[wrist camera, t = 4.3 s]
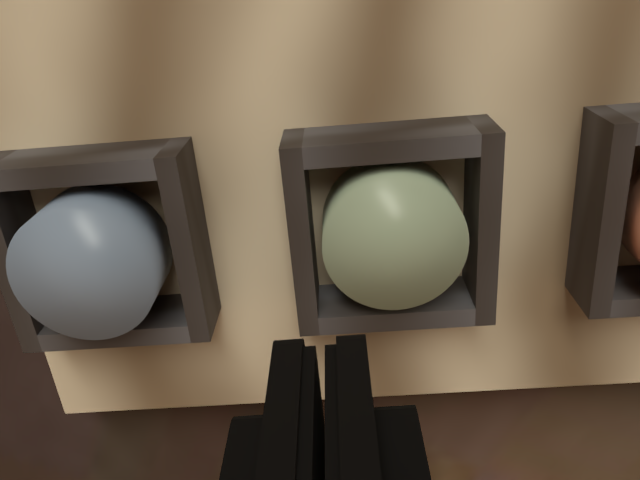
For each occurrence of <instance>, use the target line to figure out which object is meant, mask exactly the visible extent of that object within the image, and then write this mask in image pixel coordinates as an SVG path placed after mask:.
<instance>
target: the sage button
mask: <svg viewBox="0 0 640 480" xmlns="http://www.w3.org/2000/svg"><path fill="white" fill-rule="evenodd" d="M468 251H469V232H468V227H467V223H466V220H465V218H464V215H463V214H462V212H461V210H460V208H459V206H458V204H457V202H456V200H455V198H454V196H453V194H452V193H451V191H450V189H449V187H448V185H447V183H446V182H445V180H444V179H443V178H442V176H441V175H440V174H439V173H438V172H437V171H436V170H434V169H433V168H432V167H430V166H429V165H427V164H425V163H424V162H422V161H419V162H405V163H392V164H378V165H364V166H352V167H351V168H349V169H348V170H347V171H345V172H344V173H343V174H342V175H341V176H340V177H339V178H338V179H337V181H336V182H335V183H334V184H333V186H332V188H331V189H330V191H329V193H328V195H327V198H326V200H325V204H324V208H323V219H322V255H323V261H324V264H325V267H326V270H327V272H328V274H329V276H330V278H331V279H332V281H333V282H334V284H335V285H336V286H337V287H338V288H339V289H340V290H341V291H342V292H343V293H344V294H345V295H347V296H348V297H350V298H351V299H353V300H354V301H356V302H358V303H360V304H363V305H365V306H368V307H372V308H376V309H382V310H402V309H408V308H413V307H416V306H419V305H422V304H425V303H427V302H429V301H431V300H433V299H434V298H436V297H438V296H439V295H441V294H442V293H443V292H444V291H445V290H447V289H448V288H449V287H450V286H451V285H452V284H453V282H454V281H455V280H456V278H457V277H458V276H459V274H460V272H461V271H462V269H463V267H464V264H465V262H466V259H467V255H468Z"/></svg>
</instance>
